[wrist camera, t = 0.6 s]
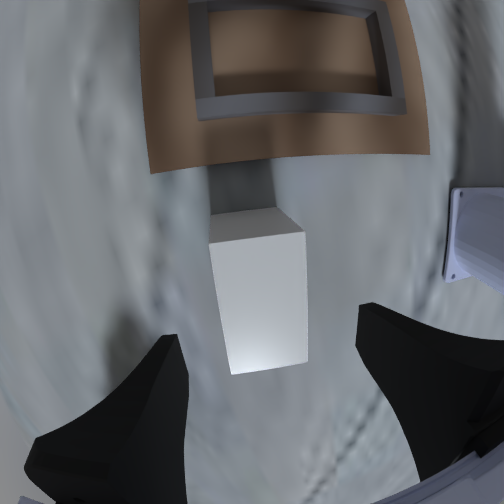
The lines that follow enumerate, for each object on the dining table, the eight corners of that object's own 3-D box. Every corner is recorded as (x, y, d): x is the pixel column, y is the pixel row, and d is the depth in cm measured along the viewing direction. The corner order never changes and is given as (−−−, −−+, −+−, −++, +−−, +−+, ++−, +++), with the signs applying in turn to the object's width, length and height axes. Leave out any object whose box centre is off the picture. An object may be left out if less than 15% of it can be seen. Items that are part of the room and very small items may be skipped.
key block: (276, 206, 18) (305, 231, 12) (283, 307, 20) (307, 361, 15) (210, 214, 18) (208, 243, 12) (226, 316, 20) (231, 374, 14)
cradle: (395, -3, 13) (412, -15, 11) (421, 154, 18) (443, 156, 15) (143, -10, 12) (135, -28, 10) (154, 173, 16) (144, 176, 14)
